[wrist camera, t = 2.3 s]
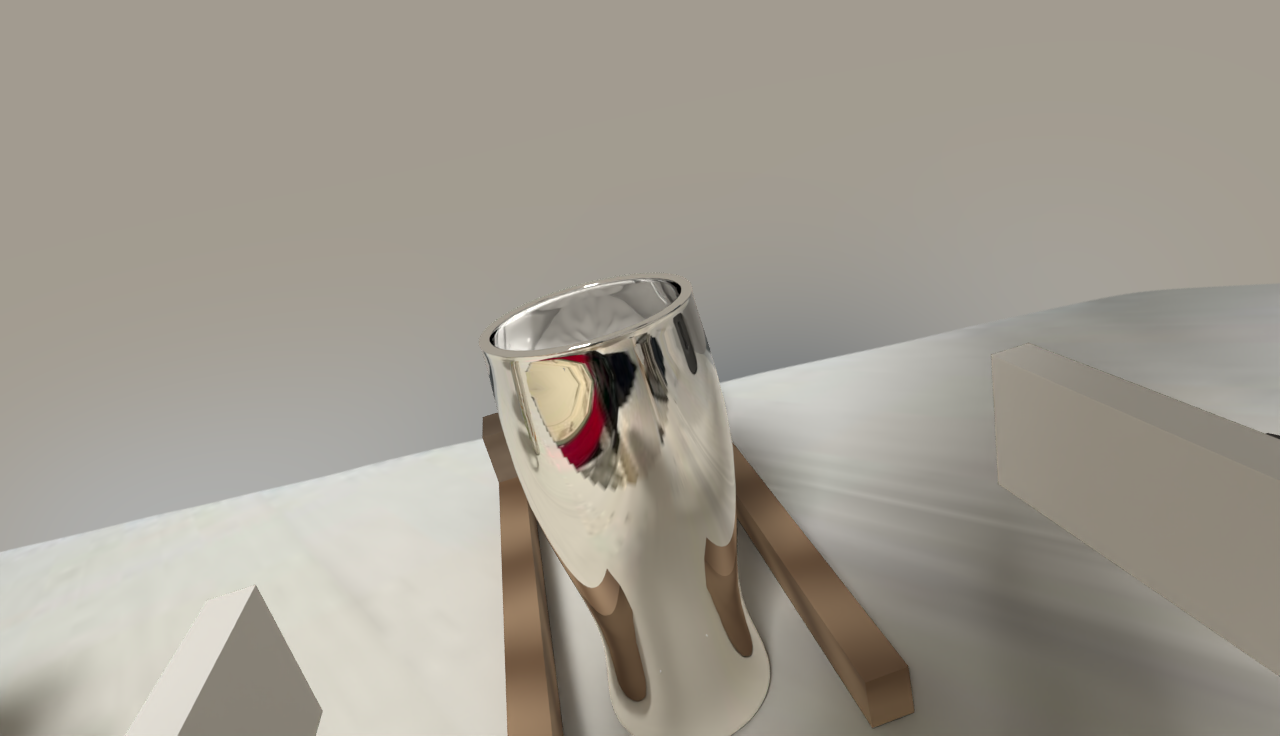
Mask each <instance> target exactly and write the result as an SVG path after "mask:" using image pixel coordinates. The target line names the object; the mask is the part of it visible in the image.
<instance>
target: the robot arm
mask: <svg viewBox="0 0 1280 736" xmlns="http://www.w3.org/2000/svg"><path fill="white" fill-rule="evenodd" d="M991 363H992V382H993V400H994V419H995V437H996V456H997V474H998V484H999V485H1000V486H1002V487H1003V488H1005V489H1006V490H1008V491H1009V492H1011V493H1012V494H1014V495H1015V496H1017V497H1018V498H1019V499H1021V500H1022V501H1024V502H1025V503H1027V504H1028V505H1030V506H1031V507H1033V508H1034V509H1036V510H1037V511H1038V512H1040V513H1041V514H1043V515H1044V516H1046V517H1047V518H1049V519H1050V520H1052V521H1053V522H1054V523H1056V524H1057V525H1059V526H1060V527H1062V528H1063V529H1065V530H1066V531H1068V532H1069V533H1071V534H1072V535H1073V536H1075V537H1076V538H1078V539H1079V540H1081V541H1082V542H1084V543H1085V544H1087V545H1088V546H1090V547H1091V548H1092V549H1094V550H1095V551H1097V552H1098V553H1100V554H1101V555H1103V556H1104V557H1106V558H1107V559H1109V560H1110V561H1111V562H1113V563H1114V564H1116V565H1117V566H1119V567H1120V568H1122V569H1123V570H1125V571H1126V572H1128V573H1129V574H1130V575H1132V576H1133V577H1135V578H1136V579H1138V580H1139V581H1141V582H1142V583H1144V584H1145V585H1146V586H1148V587H1149V588H1151V589H1152V590H1154V591H1155V592H1157V593H1158V594H1160V595H1161V596H1163V597H1164V598H1165V599H1167V600H1168V601H1170V602H1171V603H1173V604H1174V605H1176V606H1177V607H1179V608H1180V609H1182V610H1183V611H1184V612H1186V613H1187V614H1189V615H1190V616H1192V617H1193V618H1195V619H1196V620H1198V621H1199V622H1201V623H1202V624H1203V625H1205V626H1206V627H1208V628H1209V629H1211V630H1212V631H1214V632H1215V633H1217V634H1218V635H1220V636H1221V637H1222V638H1224V639H1225V640H1227V641H1228V642H1230V643H1231V644H1233V645H1234V646H1236V647H1237V648H1238V649H1240V650H1241V651H1243V652H1244V653H1246V654H1247V655H1249V656H1250V657H1252V658H1253V659H1255V660H1256V661H1257V662H1259V663H1260V664H1262V665H1263V666H1265V667H1266V668H1268V669H1269V670H1271V671H1272V672H1274V673H1275V674H1276V675H1278V676H1279V677H1280V436H1279V435H1274V434H1269V433H1266V434H1264V433H1262V432H1259V431H1256V430H1254V429H1251V428H1249V427H1246V426H1243V425H1241V424H1238V423H1236V422H1233V421H1230V420H1228V419H1225V418H1223V417H1220V416H1217V415H1215V414H1212V413H1210V412H1207V411H1204V410H1202V409H1199V408H1197V407H1194V406H1191V405H1189V404H1186V403H1184V402H1181V401H1178V400H1176V399H1173V398H1171V397H1168V396H1165V395H1163V394H1160V393H1158V392H1155V391H1152V390H1150V389H1147V388H1145V387H1142V386H1140V385H1137V384H1134V383H1132V382H1129V381H1127V380H1124V379H1121V378H1119V377H1116V376H1114V375H1111V374H1108V373H1106V372H1103V371H1101V370H1098V369H1095V368H1093V367H1090V366H1088V365H1085V364H1082V363H1080V362H1077V361H1075V360H1072V359H1069V358H1067V357H1064V356H1062V355H1059V354H1056V353H1054V352H1051V351H1049V350H1046V349H1043V348H1041V347H1038V346H1036V345H1033V344H1030V343H1027V344H1023V345H1020V346H1017V347H1014V348H1011V349H1007V350H1004V351H1001V352H998V353H995V354H991ZM322 712H323V711H322V709H321V707H320V705H319V703H318V701H317V699H316V698H315V696H314V694H313V692H312V690H311V688H310V686H309V684H308V682H307V681H306V679H305V677H304V675H303V673H302V671H301V669H300V667H299V665H298V664H297V662H296V660H295V658H294V656H293V654H292V652H291V650H290V648H289V647H288V645H287V643H286V641H285V639H284V637H283V635H282V633H281V631H280V630H279V628H278V626H277V624H276V622H275V620H274V618H273V616H272V614H271V613H270V611H269V609H268V607H267V605H266V603H265V601H264V599H263V597H262V596H261V594H260V592H259V590H258V588H257V586H256V585H253V586H250V587H247V588H244V589H240V590H237V591H234V592H231V593H228V594H224V595H221V596H218V597H215V598H212V599H208V600H206V602H205V604H204V605H203V607H202V609H201V610H200V612H199V614H198V615H197V617H196V619H195V620H194V622H193V624H192V625H191V627H190V628H189V630H188V632H187V633H186V635H185V637H184V638H183V640H182V642H181V643H180V645H179V647H178V648H177V650H176V652H175V653H174V655H173V656H172V658H171V660H170V661H169V663H168V665H167V666H166V668H165V670H164V671H163V673H162V675H161V676H160V678H159V680H158V681H157V683H156V684H155V686H154V688H153V689H152V691H151V693H150V694H149V696H148V698H147V699H146V701H145V703H144V704H143V706H142V708H141V709H140V711H139V713H138V714H137V716H136V717H135V719H134V721H133V722H132V724H131V726H130V727H129V729H128V731H127V732H126V734H125V736H316V733H317V729H318V726H319V722H320V719H321V715H322Z"/></svg>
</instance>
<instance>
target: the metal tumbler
mask: <svg viewBox="0 0 1280 736" xmlns="http://www.w3.org/2000/svg"><path fill="white" fill-rule="evenodd" d="M479 346H480V348H481V350H482V353H483V356H484V359H485V363H486V366H487V370H488V374H489V378H490V382H491V387H492V391H493V395H494V399H495V403H496V407H497V410H498V414H499V418H500V421H501V425H502V429H503V433H504V436H505V439H506V442H507V445H508V448H509V452H510V455H511V458H512V461H513V464H514V467H515V470H516V472H517V475H518V477H519V480H520V483H521V485H522V488H523V490H524V493H525V495H526V498H527V500H528V503H529V505H530V507H531V509H532V511H533V513H534V515H535V517H536V519H537V521H538V523H539V525H540V526H541V528H542V530H543V532H544V534H545V536H546V538H547V540H548V542H549V543H550V545H551V547H552V548H553V550H554V552H555V554H556V555H557V557H558V559H559V560H560V562H561V564H562V565H563V567H564V569H565V571H566V572H567V574H568V575H569V577H570V579H571V580H572V582H573V584H574V585H575V587H576V589H577V590H578V592H579V594H580V595H581V597H582V599H583V600H584V602H585V604H586V606H587V608H588V609H589V611H590V613H591V615H592V617H593V619H594V621H595V623H596V626H597V628H598V631H599V633H600V636H601V639H602V643H603V646H604V652H605V657H606V666H607V677H608V686H609V693H610V699H611V703H612V707H613V710H614V712H615V714H616V716H617V718H618V720H619V721H620V723H621V724H622V725H623V727H624V728H625V729H626V730H627V731H628V732H629V733H630V734H631V735H633V736H730V735H732V734H733V733H735V732H736V731H738V730H739V729H740V728H742V727H743V726H744V725H745V724H746V723H747V722H748V721H749V720H750V719H751V718H752V717H753V716H754V715H755V713H756V712H757V711H758V709H759V708H760V706H761V704H762V702H763V701H764V698H765V696H766V694H767V690H768V687H769V681H770V664H769V659H768V656H767V652H766V650H765V647H764V645H763V642H762V640H761V638H760V636H759V634H758V632H757V630H756V628H755V626H754V624H753V622H752V620H751V618H750V615H749V613H748V611H747V608H746V606H745V603H744V599H743V596H742V592H741V587H740V581H739V575H738V556H737V510H736V480H735V468H734V456H733V444H732V439H731V433H730V428H729V422H728V417H727V411H726V406H725V402H724V398H723V394H722V390H721V386H720V382H719V378H718V374H717V371H716V367H715V364H714V361H713V357H712V354H711V351H710V347H709V344H708V341H707V337H706V335H705V331H704V328H703V325H702V322H701V319H700V316H699V313H698V310H697V306H696V303H695V300H694V296H693V292H692V285H691V283H690V282H689V281H688V280H687V279H686V278H684V277H681V276H678V275H674V274H668V273H639V274H630V275H622V276H616V277H610V278H605V279H600V280H596V281H592V282H587V283H584V284H580V285H576V286H573V287H569V288H566V289H563V290H560V291H557V292H554V293H551V294H548V295H546V296H543V297H540V298H538V299H535V300H533V301H531V302H528V303H526V304H524V305H522V306H520V307H517V308H516V309H514V310H512V311H510V312H508V313H506V314H505V315H503V316H501V317H500V318H498V319H497V320H496V321H494V322H493V323H492V324H491V325H489V326H488V327H487V328H486V330H485V331H484V332H483V333H482V334H481V336H480V339H479Z"/></svg>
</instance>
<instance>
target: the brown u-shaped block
mask: <svg viewBox="0 0 1280 736" xmlns="http://www.w3.org/2000/svg"><path fill="white" fill-rule="evenodd" d="M482 438H483V440H484V443H485V446H486V448H487V451H488V454H489V457H490V459H491V462H492V465H493V468H494V470H495V473H496V476H497V478H498V481H499V495H500V524H501V554H502V584H503V613H504V643H505V673H506V702H507V732H508V736H564V734H563V726H562V718H561V710H560V702H559V694H558V686H557V678H556V670H555V663H554V655H553V647H552V639H551V631H550V623H549V615H548V607H547V599H546V591H545V583H544V575H543V568H542V560H541V552H540V544H539V536H538V528H537V520H536V517H535V515H534V513H533V511H532V509H531V507H530V505H529V503H528V500H527V498H526V495H525V493H524V490H523V488H522V485H521V483H520V480H519V477H518V475H517V472H516V470H515V467H514V464H513V461H512V458H511V455H510V452H509V448H508V445H507V442H506V439H505V436H504V433H503V429H502V425H501V421H500V418H499V414H498V413H495V414H492V415H488V416H485V417H483V437H482ZM732 444H733V442H732ZM733 456H734V468H735V480H736V510H737V518H738V520H739V522H740V523H741V525H742V526H743V528H744V529H745V531H746V532H747V534H748V536H749V537H750V539H751V540H752V542H753V543H754V545H755V546H756V548H757V550H758V551H759V553H760V554H761V556H762V557H763V559H764V560H765V562H766V564H767V565H768V567H769V568H770V570H771V571H772V573H773V574H774V576H775V577H776V579H777V581H778V582H779V584H780V585H781V587H782V588H783V590H784V591H785V593H786V595H787V596H788V598H789V599H790V601H791V602H792V604H793V605H794V607H795V609H796V610H797V612H798V613H799V615H800V616H801V618H802V619H803V621H804V623H805V624H806V626H807V627H808V629H809V630H810V632H811V633H812V635H813V637H814V638H815V640H816V641H817V643H818V644H819V646H820V647H821V649H822V650H823V652H824V654H825V655H826V657H827V658H828V660H829V661H830V663H831V664H832V666H833V668H834V669H835V671H836V672H837V674H838V675H839V677H840V678H841V680H842V682H843V683H844V685H845V686H846V688H847V689H848V691H849V692H850V694H851V696H852V697H853V699H854V700H855V702H856V703H857V705H858V706H859V708H860V709H861V711H862V713H863V714H864V716H865V717H866V719H867V720H868V722H869V723H870V725H871V727H872V728H874V727H877V726H880V725H882V724H885V723H887V722H890V721H893V720H895V719H898V718H900V717H903V716H906V715H908V714H911V713H914V705H913V697H912V690H911V682H910V675H909V667H908V665H907V664H906V663H905V661H904V660H903V659H902V658H901V656H900V655H899V654H898V653H897V651H896V650H895V649H894V647H893V646H892V645H891V644H890V642H889V641H888V640H887V639H886V637H885V636H884V635H883V633H882V632H881V631H880V630H879V628H878V627H877V626H876V625H875V623H874V622H873V621H872V619H871V618H870V617H869V616H868V614H867V613H866V612H865V611H864V609H863V608H862V607H861V605H860V604H859V603H858V602H857V600H856V599H855V598H854V596H853V595H852V594H851V593H850V591H849V590H848V589H847V588H846V586H845V585H844V584H843V582H842V581H841V580H840V579H839V577H838V576H837V575H836V574H835V572H834V571H833V570H832V568H831V567H830V566H829V565H828V563H827V562H826V561H825V560H824V558H823V557H822V556H821V554H820V553H819V552H818V551H817V549H816V548H815V547H814V546H813V544H812V543H811V542H810V540H809V539H808V538H807V537H806V535H805V534H804V533H803V532H802V530H801V529H800V528H799V526H798V525H797V524H796V523H795V521H794V520H793V519H792V517H791V516H790V515H789V514H788V512H787V511H786V510H785V509H784V507H783V506H782V505H781V503H780V502H779V501H778V500H777V498H776V497H775V496H774V495H773V493H772V492H771V491H770V489H769V488H768V487H767V486H766V484H765V483H764V482H763V481H762V479H761V478H760V477H759V475H758V474H757V473H756V472H755V470H754V469H753V468H752V467H751V465H750V464H749V463H748V461H747V460H746V459H745V458H744V456H743V455H742V454H741V453H740V451H739V450H738V449H737V447H736V446H735V445H734V444H733Z"/></svg>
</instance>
